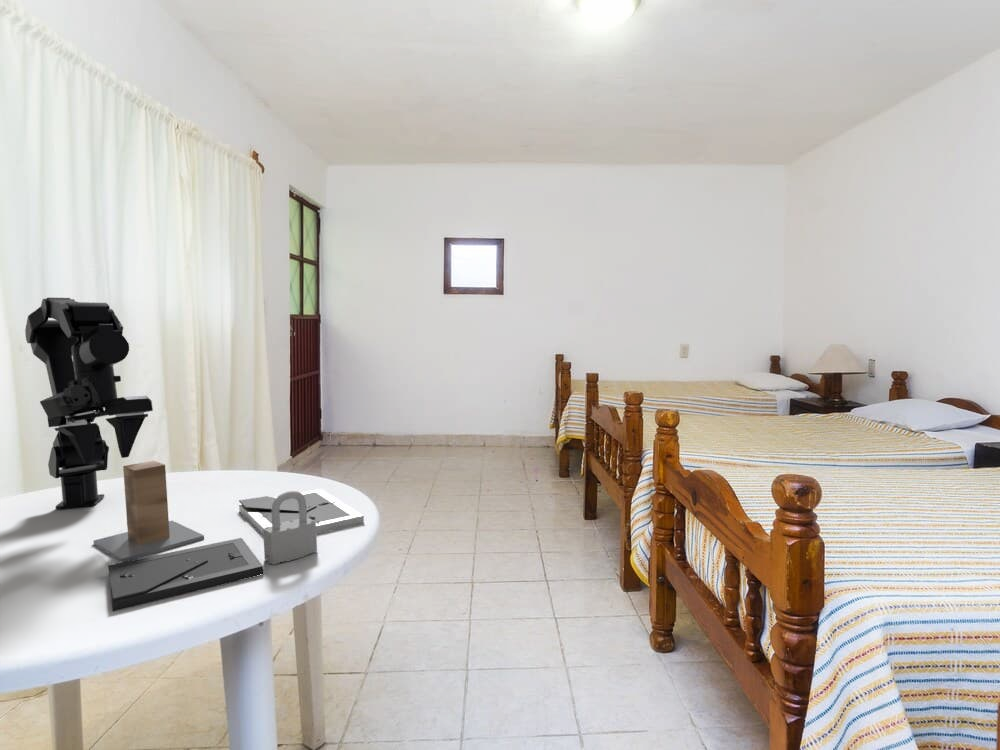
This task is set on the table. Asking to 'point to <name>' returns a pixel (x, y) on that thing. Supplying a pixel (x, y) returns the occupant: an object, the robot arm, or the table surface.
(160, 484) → the block
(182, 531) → the coaster
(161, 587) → the picture frame
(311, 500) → the picture frame
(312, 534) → the padlock
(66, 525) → the table surface
